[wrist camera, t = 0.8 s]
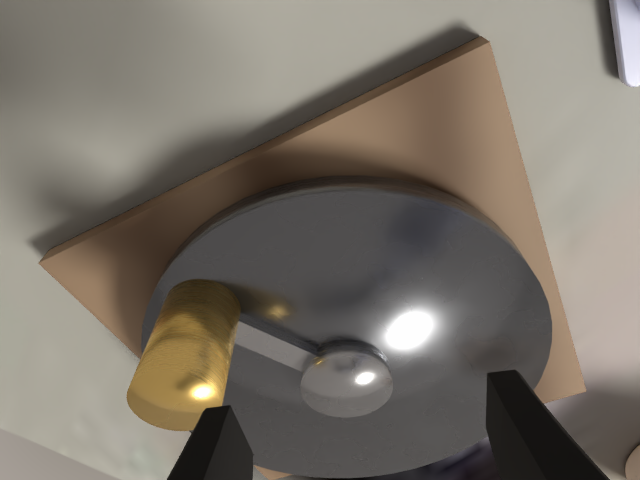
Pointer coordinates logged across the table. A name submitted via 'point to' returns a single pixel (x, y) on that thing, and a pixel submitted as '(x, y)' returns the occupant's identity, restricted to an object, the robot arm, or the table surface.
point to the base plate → (339, 160)
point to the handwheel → (341, 325)
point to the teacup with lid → (633, 465)
